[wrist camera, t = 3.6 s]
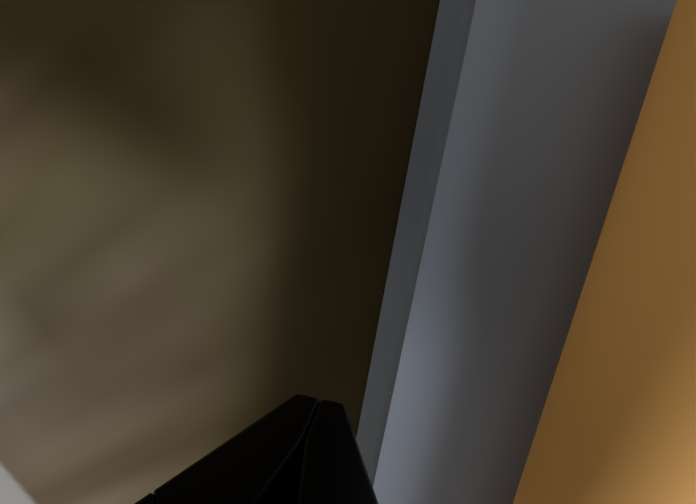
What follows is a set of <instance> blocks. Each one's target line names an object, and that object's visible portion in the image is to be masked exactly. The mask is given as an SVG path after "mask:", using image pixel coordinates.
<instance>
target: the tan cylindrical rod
mask: <svg viewBox="0 0 696 504" xmlns="http://www.w3.org/2000/svg"><path fill="white" fill-rule="evenodd" d="M513 504H696V0H677V1H676V4H675V7H674V10H673V13H672V17H671V20H670V23H669V26H668V29H667V32H666V35H665V38H664V41H663V44H662V47H661V50H660V53H659V56H658V59H657V62H656V66H655V69H654V72H653V75H652V78H651V81H650V84H649V87H648V90H647V93H646V96H645V99H644V102H643V105H642V108H641V111H640V115H639V118H638V121H637V124H636V127H635V130H634V133H633V136H632V139H631V142H630V145H629V148H628V151H627V154H626V157H625V161H624V164H623V167H622V170H621V173H620V176H619V179H618V182H617V185H616V188H615V191H614V194H613V197H612V200H611V203H610V206H609V210H608V213H607V216H606V219H605V222H604V225H603V228H602V231H601V234H600V237H599V240H598V243H597V246H596V249H595V252H594V255H593V259H592V262H591V265H590V268H589V271H588V274H587V277H586V280H585V283H584V286H583V289H582V292H581V295H580V298H579V301H578V305H577V308H576V311H575V314H574V317H573V320H572V323H571V326H570V329H569V332H568V335H567V338H566V341H565V344H564V347H563V350H562V354H561V357H560V360H559V363H558V366H557V369H556V372H555V375H554V378H553V381H552V384H551V387H550V390H549V393H548V396H547V399H546V403H545V406H544V409H543V412H542V415H541V418H540V421H539V424H538V427H537V430H536V433H535V436H534V439H533V442H532V445H531V448H530V452H529V455H528V458H527V461H526V464H525V467H524V470H523V473H522V476H521V479H520V482H519V485H518V488H517V491H516V494H515V498H514V501H513Z"/></svg>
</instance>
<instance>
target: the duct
mask: <svg viewBox="0 0 696 504" xmlns="http://www.w3.org/2000/svg"><path fill="white" fill-rule="evenodd" d="M676 1H677V0H440V3H439V8H438V13H437V19H436V24H435V29H434V34H433V40H432V45H431V50H430V55H429V60H428V66H427V71H426V76H425V81H424V87H423V92H422V97H421V102H420V108H419V113H418V118H417V123H416V128H415V134H414V139H413V144H412V149H411V155H410V160H409V165H408V170H407V176H406V181H405V186H404V191H403V196H402V202H401V207H400V212H399V217H398V223H397V228H396V233H395V238H394V243H393V249H392V254H391V259H390V264H389V270H388V275H387V280H386V285H385V291H384V296H383V301H382V306H381V311H380V317H379V322H378V327H377V332H376V338H375V343H374V348H373V353H372V358H371V364H370V369H369V374H368V379H367V385H366V390H365V395H364V400H363V406H362V411H361V416H360V421H359V426H358V432H357V437H356V440H357V443H358V446H359V449H360V451H361V454H362V457H363V460H364V463H365V466H366V469H367V472H368V475H369V478H370V481H371V484H372V486H373V489H374V492H375V495H376V498H377V501H378V504H513V501H514V498H515V494H516V491H517V488H518V485H519V482H520V479H521V476H522V473H523V470H524V467H525V464H526V461H527V458H528V455H529V452H530V448H531V445H532V442H533V439H534V436H535V433H536V430H537V427H538V424H539V421H540V418H541V415H542V412H543V409H544V406H545V403H546V399H547V396H548V393H549V390H550V387H551V384H552V381H553V378H554V375H555V372H556V369H557V366H558V363H559V360H560V357H561V354H562V350H563V347H564V344H565V341H566V338H567V335H568V332H569V329H570V326H571V323H572V320H573V317H574V314H575V311H576V308H577V305H578V301H579V298H580V295H581V292H582V289H583V286H584V283H585V280H586V277H587V274H588V271H589V268H590V265H591V262H592V259H593V255H594V252H595V249H596V246H597V243H598V240H599V237H600V234H601V231H602V228H603V225H604V222H605V219H606V216H607V213H608V210H609V206H610V203H611V200H612V197H613V194H614V191H615V188H616V185H617V182H618V179H619V176H620V173H621V170H622V167H623V164H624V161H625V157H626V154H627V151H628V148H629V145H630V142H631V139H632V136H633V133H634V130H635V127H636V124H637V121H638V118H639V115H640V111H641V108H642V105H643V102H644V99H645V96H646V93H647V90H648V87H649V84H650V81H651V78H652V75H653V72H654V69H655V66H656V62H657V59H658V56H659V53H660V50H661V47H662V44H663V41H664V38H665V35H666V32H667V29H668V26H669V23H670V20H671V17H672V13H673V10H674V7H675V4H676Z"/></svg>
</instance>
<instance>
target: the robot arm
mask: <svg viewBox="0 0 696 504" xmlns="http://www.w3.org/2000/svg"><path fill="white" fill-rule="evenodd" d="M135 504H378V501H377V498H376V495H375V492H374V489H373V486H372V484H371V481H370V478H369V475H368V472H367V469H366V466H365V463H364V460H363V457H362V454H361V451H360V449H359V446H358V443H357V440H356V437H355V434H354V431H353V428H352V425H351V422H350V419H349V416H348V414H347V411H346V408H345V406H344V405H343V404H342V403H337V402H333V401H328V400H322V401H320V403H319V400H318V399H317V398H314V397H310V396H305V395H301V394H296V395H294V396H293V397H291V398H290V399H288V400H287V401H285V402H284V403H282V404H281V405H279V406H278V407H276V408H275V409H273V410H272V411H271V412H269V413H268V414H266V415H265V416H263V417H262V418H260V419H259V420H257V421H256V422H254V423H253V424H251V425H250V426H248V427H247V428H246V429H244V430H243V431H241V432H240V433H238V434H237V435H235V436H234V437H232V438H231V439H229V440H228V441H226V442H225V443H223V444H222V445H220V446H219V447H218V448H216V449H215V450H213V451H212V452H210V453H209V454H207V455H206V456H204V457H203V458H201V459H200V460H198V461H197V462H195V463H194V464H193V465H191V466H190V467H188V468H187V469H185V470H184V471H182V472H181V473H179V474H178V475H176V476H175V477H173V478H172V479H170V480H169V481H167V482H166V483H165V484H163V485H162V486H160V487H159V488H157V489H156V490H155V491H154V492H153V494H152V493H150V494H148V495H147V496H145V497H144V498H142V499H141V500H139V501H138V502H136V503H135Z"/></svg>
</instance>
